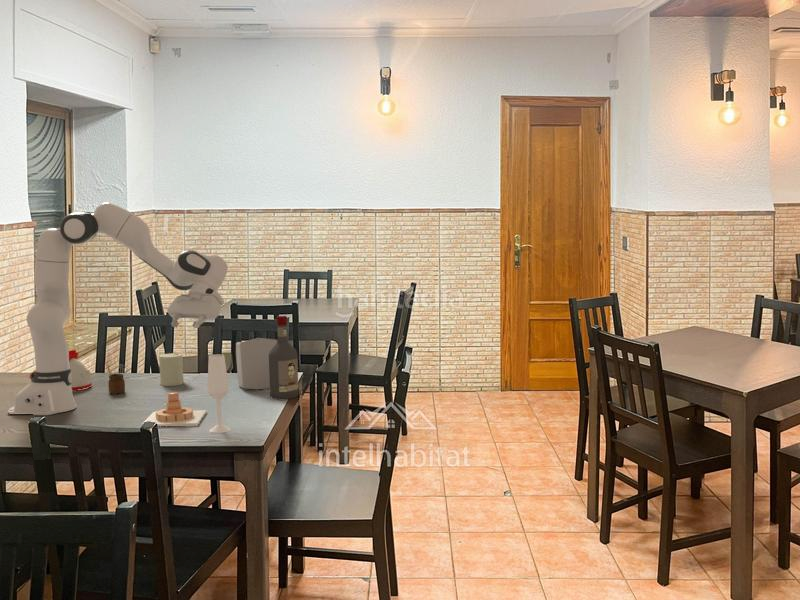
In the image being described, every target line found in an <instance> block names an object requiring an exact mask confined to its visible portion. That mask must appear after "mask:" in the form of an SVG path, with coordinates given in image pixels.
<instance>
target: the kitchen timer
mask: <svg viewBox="0 0 800 600" xmlns="http://www.w3.org/2000/svg"><path fill="white" fill-rule="evenodd" d="M68 353H69V368H70V369H71V375H72V383H71V388H72V390H78V389H83V388H87V387H89V386H91V385H92V384H93V383H92V378H91V370H89V369H87V367H86V366H85V364H83V362H82V361H80V360H78V356H79V352H78V351H77V350H76V349H71V350H68ZM92 386H93V385H92Z"/></svg>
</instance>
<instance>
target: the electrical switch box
mask: <svg viewBox="0 0 800 600" xmlns="http://www.w3.org/2000/svg"><path fill="white" fill-rule="evenodd" d="M277 340H278V339H273V338H265V337H264V338H263V337H257V338H253V339H248V340H244V341H237V342H236V343H235V357H236V371H237V383H238V387H239V388H242V389H247V390H249V389H250V390H258V389H263V390H267V389H270V378H269V353H270V351H271V350H272V348H273V347H274V346H275V345H276V343H277Z"/></svg>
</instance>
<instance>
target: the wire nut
mask: <svg viewBox="0 0 800 600" xmlns="http://www.w3.org/2000/svg"><path fill="white" fill-rule="evenodd" d="M179 413H182V405H181V399H180V396H179V392H174V391H173V392H169V393H168V394H167V401H166V414H179Z"/></svg>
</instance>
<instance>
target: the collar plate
mask: <svg viewBox="0 0 800 600" xmlns="http://www.w3.org/2000/svg"><path fill="white" fill-rule="evenodd" d="M181 407H182V406H181ZM166 408H167V407H166ZM166 408H162V409H159V410H156V411H153V412H151V414H150V415H149V416H148V417H147V418H146V419H145V420H144V421H143V422H142V423H141V425H142V424H143V423H144V422H147V421H151V422H156V423H157V424H158V426H160V427H159V428H162V427H161V426H166V427H165V428H168V427H167V426H186V427H198V426H199V425H200V423H201V422H202V420H203V419H204V417H205V416H204V415H207V413H206V412H207V410H206V409H198V410H197V409H196V410H194V409H193V408H192V407H185V406H183V407H182V413H179V414H166ZM202 418H203V419H202ZM200 421H201V422H200ZM198 424H199V425H198ZM141 425H140V426H141Z"/></svg>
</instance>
